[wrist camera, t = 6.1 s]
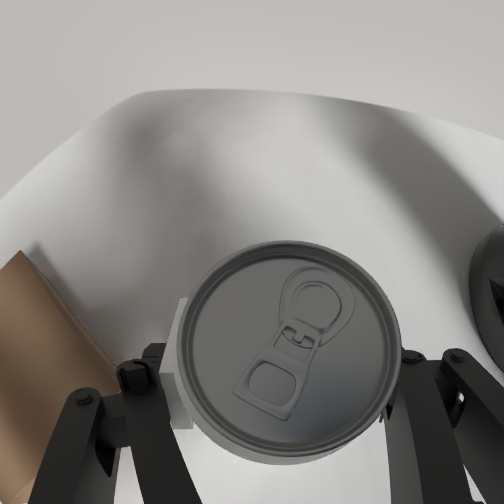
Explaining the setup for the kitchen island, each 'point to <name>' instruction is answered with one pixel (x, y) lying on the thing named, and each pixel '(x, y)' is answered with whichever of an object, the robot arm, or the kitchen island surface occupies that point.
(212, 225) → the kitchen island surface
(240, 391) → the can
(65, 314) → the walnut stand
